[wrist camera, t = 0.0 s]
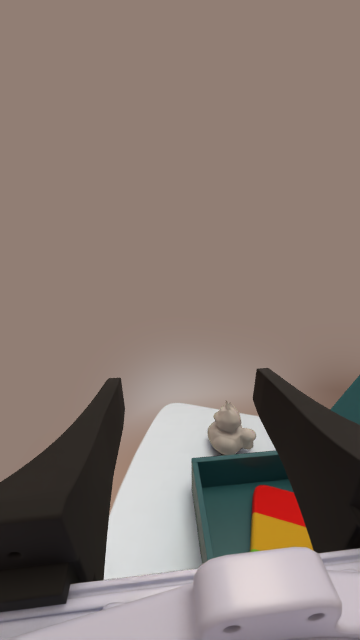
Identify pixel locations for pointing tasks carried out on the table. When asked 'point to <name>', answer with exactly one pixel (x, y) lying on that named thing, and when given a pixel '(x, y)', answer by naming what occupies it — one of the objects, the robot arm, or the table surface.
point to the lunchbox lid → (349, 403)
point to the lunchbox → (231, 498)
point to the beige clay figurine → (229, 431)
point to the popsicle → (276, 520)
